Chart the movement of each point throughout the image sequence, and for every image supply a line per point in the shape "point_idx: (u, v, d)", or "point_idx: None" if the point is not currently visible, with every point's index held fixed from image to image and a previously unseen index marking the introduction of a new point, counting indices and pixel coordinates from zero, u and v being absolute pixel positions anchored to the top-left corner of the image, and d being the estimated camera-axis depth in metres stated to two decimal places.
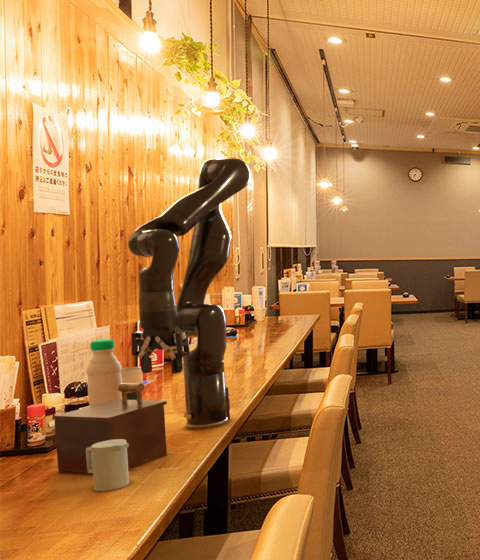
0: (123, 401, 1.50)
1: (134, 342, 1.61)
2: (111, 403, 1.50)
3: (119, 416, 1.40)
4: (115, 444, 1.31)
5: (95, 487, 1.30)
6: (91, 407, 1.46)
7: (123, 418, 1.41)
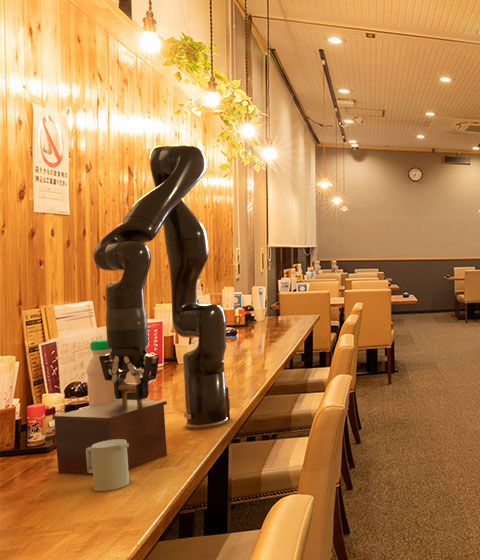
0: (123, 401, 1.50)
1: (104, 365, 1.49)
2: (111, 403, 1.50)
3: (119, 416, 1.40)
4: (115, 444, 1.31)
5: (95, 487, 1.30)
6: (91, 407, 1.46)
7: (123, 418, 1.41)
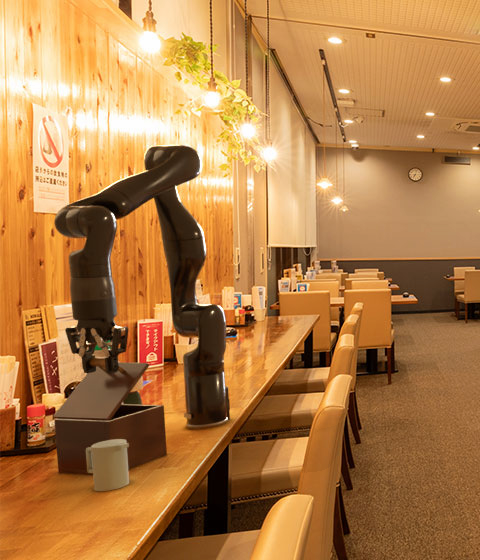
0: (105, 371, 1.46)
1: (71, 338, 1.42)
2: (95, 375, 1.46)
3: (115, 409, 1.39)
4: (115, 444, 1.31)
5: (95, 487, 1.30)
6: (80, 388, 1.44)
7: (123, 418, 1.41)
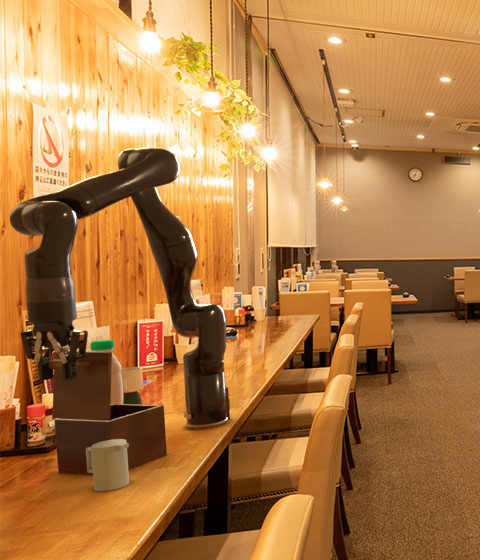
0: None
1: (26, 343, 1.33)
2: None
3: (108, 407, 1.38)
4: (115, 444, 1.31)
5: (95, 487, 1.30)
6: (58, 385, 1.39)
7: (123, 418, 1.41)
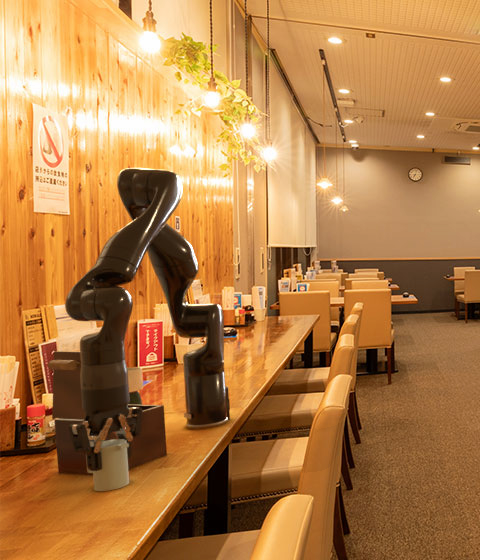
0: None
1: None
2: None
3: None
4: (115, 444, 1.31)
5: (95, 487, 1.30)
6: (58, 385, 1.39)
7: None
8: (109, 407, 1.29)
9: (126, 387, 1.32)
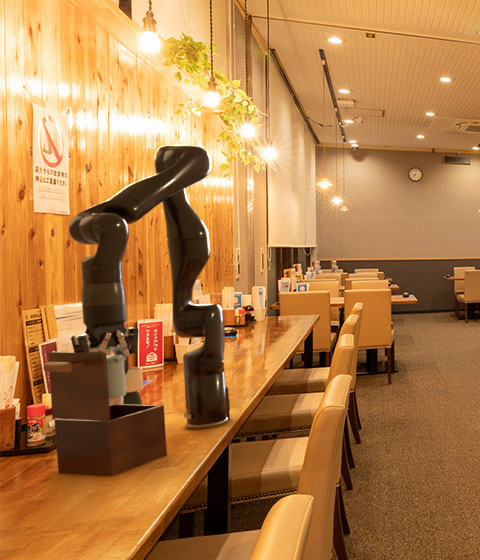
0: None
1: None
2: None
3: (107, 407, 1.37)
4: (113, 357, 1.44)
5: None
6: (55, 385, 1.39)
7: (123, 418, 1.41)
8: (108, 322, 1.41)
9: (123, 306, 1.45)
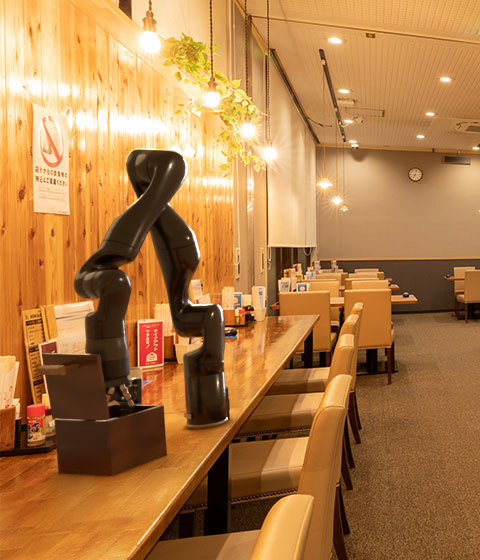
0: None
1: None
2: None
3: (106, 408, 1.37)
4: None
5: None
6: (52, 386, 1.38)
7: (123, 418, 1.41)
8: (111, 377, 1.42)
9: (126, 360, 1.45)
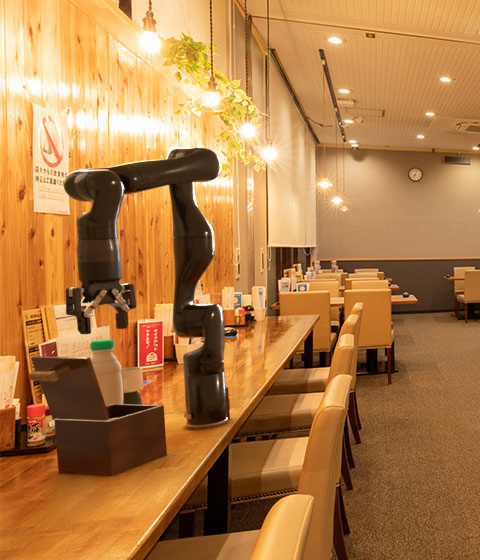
0: None
1: None
2: None
3: (104, 408, 1.37)
4: None
5: None
6: (47, 389, 1.37)
7: (123, 418, 1.41)
8: (103, 279, 1.42)
9: (118, 263, 1.45)
